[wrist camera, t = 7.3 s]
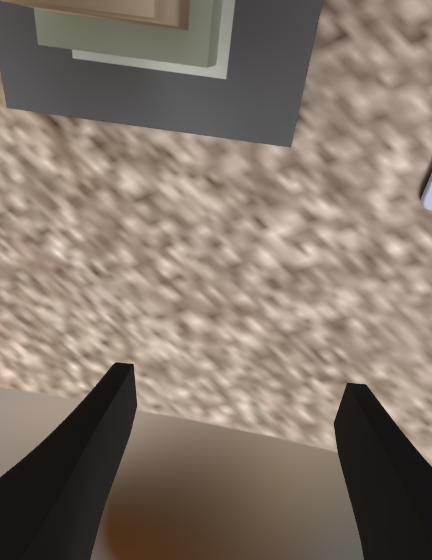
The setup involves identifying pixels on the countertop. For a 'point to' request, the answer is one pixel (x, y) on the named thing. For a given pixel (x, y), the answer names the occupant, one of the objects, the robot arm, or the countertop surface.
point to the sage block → (137, 36)
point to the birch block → (120, 10)
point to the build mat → (173, 76)
